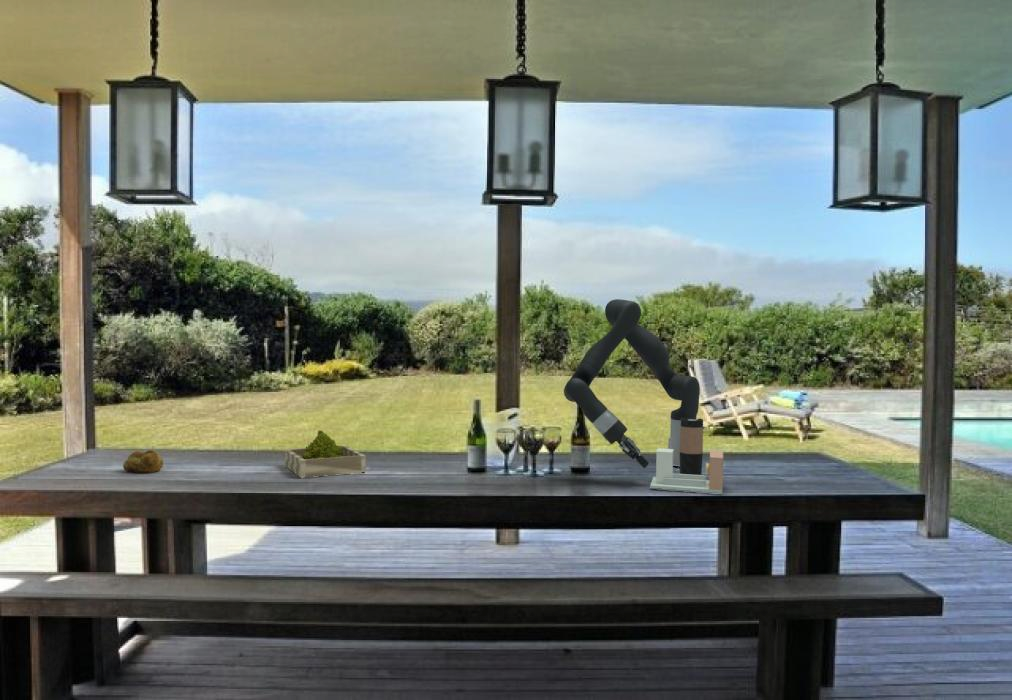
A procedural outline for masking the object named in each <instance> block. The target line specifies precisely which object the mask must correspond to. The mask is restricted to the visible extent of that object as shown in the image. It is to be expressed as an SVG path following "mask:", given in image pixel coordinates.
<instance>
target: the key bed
mask: <svg viewBox="0 0 1012 700" xmlns="http://www.w3.org/2000/svg"><path fill="white" fill-rule="evenodd" d="M707 475H708V476H709V477H708V478H709V480H708V479H707ZM723 478H724V450H721V449H718V450H717V449H716V450H715V449H710V450H709V462H705V475H704V474H701V475H690V474H680V473H674V472H673V478H664V483H656V476H653V477H652V480H651V483H650V485H649V489H650V488H662V489H676V490H691V491H702V492H718V493H722V494H723V485H724V484H723V483H724V482H723V481H724V479H723Z"/></svg>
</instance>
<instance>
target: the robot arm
mask: <svg viewBox="0 0 1012 700" xmlns="http://www.w3.org/2000/svg"><path fill="white" fill-rule="evenodd" d="M604 314H605V318H606V320H607V322H608V323H609V324H610V325H611V326H612V327H611V328H610V330H609V331H608V332H607V333H606V334H605V335H604V336H603V337H602V338H600V339H599V340H597V341H596V342H595V343H594V344H593V345H592V346H590V348H589V349H588V350H587V352H586V353H585V354H584V356H583V358H582V359H581V360H580V362H579V364H578V366H577V369H576V370H575V371H574V373H573V374H572V376H570V379H569V380H568V381H567V382H566V384H565V385H564V388H563V395H564V397H565V398H566V400H567V401H569V402H572V403H576V404H577V406H578V407H579V408H580V410H581V412H582V413H583V415H584V416H585V418H586V419H587V420H588V421H589V422H590V423H591V424H592V425H593V426H594V427H595V430H597V432H598V433H600V435H601V436H602V437H603V438H604V439H605V440H606V441H607V442H608V444H609V445H614V444H615V442H617V444H618V447H619V449H620V450H621V451H622V452H623V453H624V454H625V455H627V456H628V457H629V458H630V459H632V460H634V461H637V463H638V464H640V466H641V467H642V468H643V469H645V468H647V467H648V466H649V463H650V462H649V461H648V460H647V459H646V458H645V457H644V456H643V455H642V452H641V449H640V448H638V446H637V444H636V443H635V441H634V440H633V439H632V438H631V437H629V436H628V437H627V436H626V435H625V433H626V432H627V431H628V428H627V426H626V425H625V424H624V423H623V422H622V421H621V420H620V419H619V418H618V417H617V416H616V415H615V414H614V413H613V412H612V411H611V410H609V409H608V408H607V406H606V405H604V403H603V402H601V400H600V399H599V398H598V397H597V396H596V394H595V392H593V390H592V388H591V387H590V386H591V384H592V382H593V381H594V379H596V377H597V376H598V375H599V373H600V371H601V370H602V368H603V367H604V365H605V364H606V362H607V360H608V359H609V358H610V356H611V355H612V353H613V352H614V351H615V350H616V348H617V347H618V346H619V345H620V344H621V343H622V342H623V341H624V340H625V341H627V343H628V345H629V346H630V347H631V348H632V349H633V350H634V352H636V354H637V355H638V357H639V358H640V359H641V361H643V363H644V364H645V365H646V366H647V368H648V369H649V370H650V371H651V373H653V375H654V376H655V377H656V379H657V380H658V382H659V383H660V384H661V386H662V389H664V391H665V392H666V394H667V395H668V397H670V399H673V400H675V401H681V403H680V406H679V408H677V409H673V410H671V412H670V424H669V425H670V426H669V427H670V430H669V431H670V432H669V433H670V435H669V438H668V441H667V443H668V444H667V446H668V448H667V449H674V452H673V464H675V465H680V428H681V418H692V419H694V420H697V416H698V413H699V406H700V393H701V389H700V388H701V387H700V382H699V380H698V378H696V377H695V376H693V375H692V376H691V375H681V374H678V373H676V371H674V369H673V368H672V366H671V365H670V352H669V349H668V348H667V347H666V346H665V344H664V343H663V341H662V340H660V338H659V337H657V336H656V335H655V334H654V333H652V332H651V331H650V330H648V329H646V327H644V326H643V325H642V324H640V323H639V321H640V319H641V316H642V310H641V307H640V305H639V304H638V302H635V301H632V300H627V299H620V298H619V299H618V298H617V299H613V300H610V301H609V302H607V304H606V305H605V309H604Z"/></svg>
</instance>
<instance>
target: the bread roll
mask: <svg viewBox="0 0 1012 700" xmlns="http://www.w3.org/2000/svg"><path fill="white" fill-rule="evenodd" d="M122 467H123V469H124V471H126V472H130V473H140V474H150V473H149V472H153V473H156V472H155V471H157V472H159V471H160V470H161V469H162V468H163V467H164V460H163V457H162V456H161V455H160V454H158V452H157V451H155V450H151V449H150V450H147V451H145V452H142V451H139V450H138V451H137V450H136V451H133V452H132V453H131V454H129V455H128V457H127V459H126V460H125V461H124V462H123V465H122Z"/></svg>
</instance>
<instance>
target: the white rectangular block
mask: <svg viewBox="0 0 1012 700" xmlns="http://www.w3.org/2000/svg"><path fill="white" fill-rule="evenodd" d="M673 452H674V449H668V448H659V447H658V448H657V449H656V464H655V465H656V468H655V477H656V483H664V478H673V473H674V467H673Z"/></svg>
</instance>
